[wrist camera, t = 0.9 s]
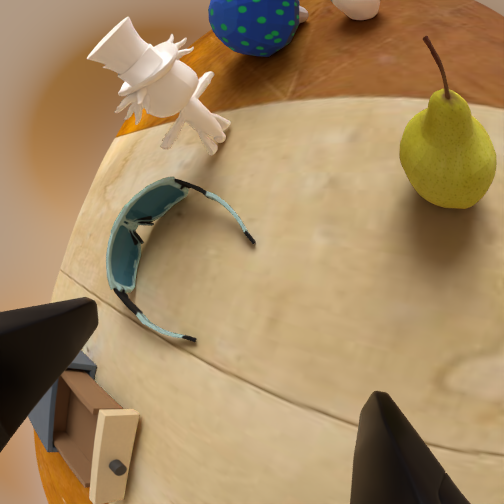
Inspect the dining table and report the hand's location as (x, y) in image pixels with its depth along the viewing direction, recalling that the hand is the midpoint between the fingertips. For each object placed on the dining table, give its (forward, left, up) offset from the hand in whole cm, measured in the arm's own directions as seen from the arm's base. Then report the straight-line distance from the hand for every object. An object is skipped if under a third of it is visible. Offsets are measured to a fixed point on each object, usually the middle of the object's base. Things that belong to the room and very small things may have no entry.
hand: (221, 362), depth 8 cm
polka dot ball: (+38, -16, -13) cm, 43 cm away
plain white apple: (+32, -28, -13) cm, 44 cm away
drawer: (+3, +29, -12) cm, 32 cm away
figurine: (+26, -1, -13) cm, 29 cm away
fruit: (+6, -14, -13) cm, 20 cm away
